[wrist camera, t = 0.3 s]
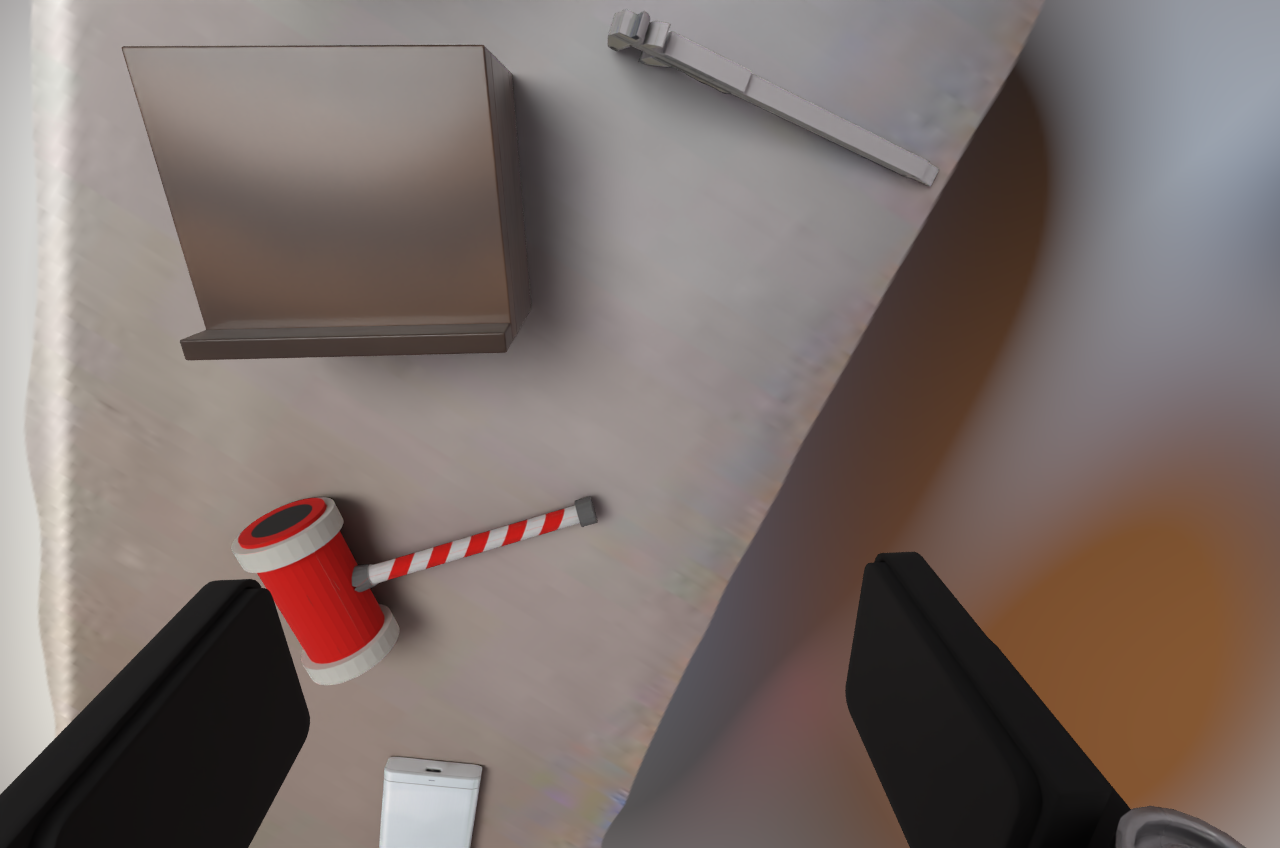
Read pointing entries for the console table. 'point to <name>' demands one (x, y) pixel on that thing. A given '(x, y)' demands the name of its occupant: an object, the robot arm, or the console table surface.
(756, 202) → the console table surface
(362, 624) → the toy hammer
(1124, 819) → the robot arm
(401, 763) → the hard drive
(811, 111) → the caliper
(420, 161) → the shelf
